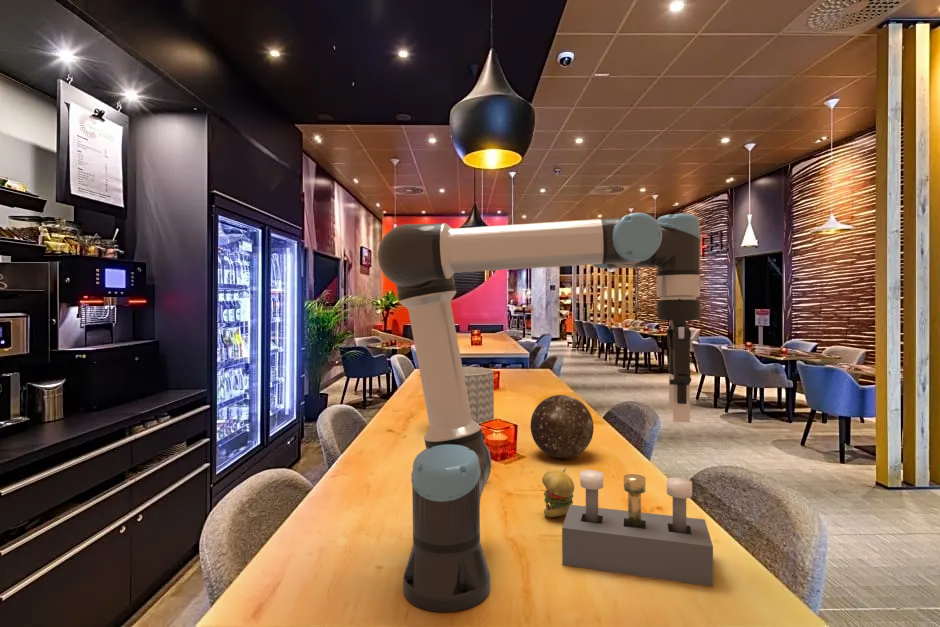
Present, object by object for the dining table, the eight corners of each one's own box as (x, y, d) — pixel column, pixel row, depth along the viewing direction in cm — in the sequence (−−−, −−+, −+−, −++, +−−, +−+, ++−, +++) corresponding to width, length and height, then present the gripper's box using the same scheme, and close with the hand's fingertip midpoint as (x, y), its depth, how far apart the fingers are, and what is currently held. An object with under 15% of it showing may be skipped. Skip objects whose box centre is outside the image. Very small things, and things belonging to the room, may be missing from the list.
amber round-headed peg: (645, 533, 98) (645, 481, 97) (623, 530, 99) (623, 479, 99) (645, 524, 101) (645, 475, 101) (624, 522, 103) (623, 473, 102)
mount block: (713, 586, 90) (712, 546, 90) (562, 564, 98) (562, 527, 98) (704, 555, 102) (704, 519, 102) (570, 537, 110) (570, 504, 110)
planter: (419, 437, 195) (419, 373, 194) (442, 423, 219) (442, 366, 218) (484, 442, 187) (483, 375, 187) (500, 426, 211) (500, 367, 211)
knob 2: (693, 539, 95) (693, 486, 95) (667, 536, 96) (667, 484, 96) (691, 529, 99) (691, 478, 99) (666, 526, 100) (666, 476, 100)
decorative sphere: (606, 462, 162) (606, 398, 162) (550, 470, 155) (550, 403, 155) (571, 446, 181) (571, 388, 181) (519, 452, 174) (519, 392, 173)
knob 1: (602, 528, 100) (602, 478, 100) (579, 525, 101) (579, 476, 101) (604, 519, 104) (604, 471, 104) (581, 516, 105) (581, 469, 105)
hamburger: (553, 508, 126) (552, 458, 126) (580, 515, 121) (580, 464, 121) (536, 518, 120) (535, 466, 120) (564, 526, 115) (563, 472, 115)
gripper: (708, 297, 84) (709, 430, 85) (693, 299, 107) (693, 403, 108) (659, 298, 87) (659, 427, 87) (654, 299, 110) (655, 401, 110)
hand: (678, 414), depth 97 cm, fingers open, 12 cm apart
